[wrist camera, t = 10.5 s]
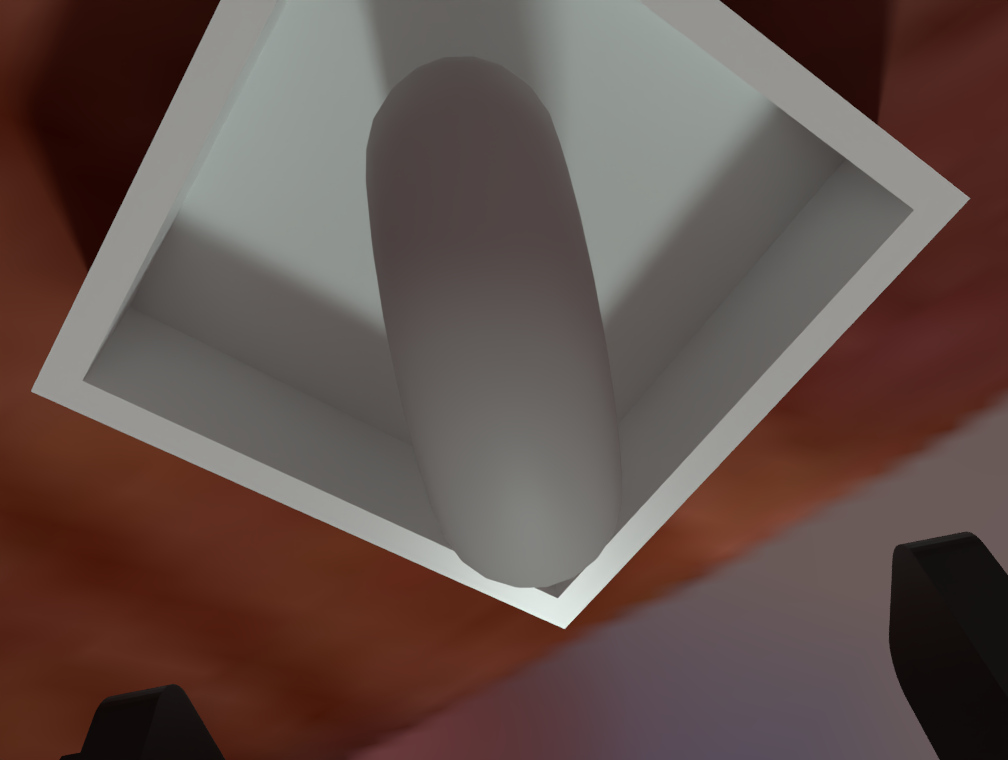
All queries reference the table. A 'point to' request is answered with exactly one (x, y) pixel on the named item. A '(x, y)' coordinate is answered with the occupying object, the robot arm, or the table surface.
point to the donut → (494, 322)
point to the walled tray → (606, 223)
